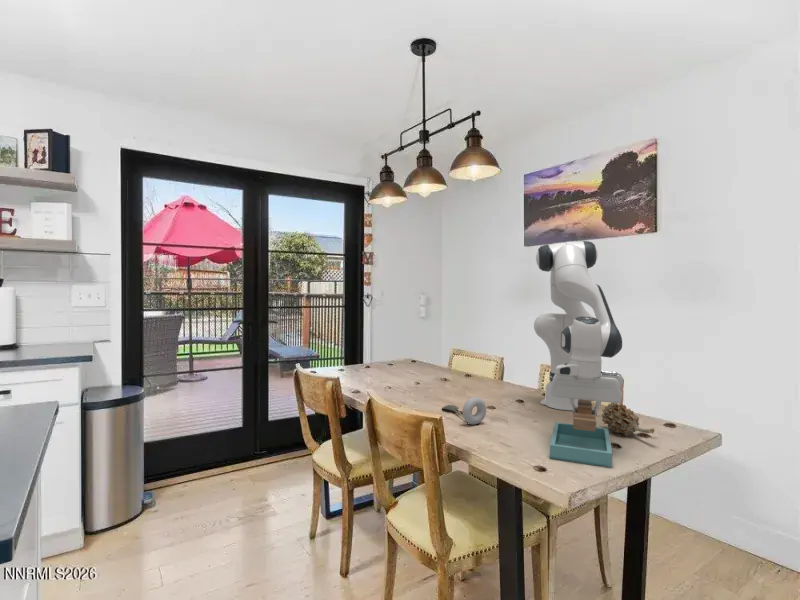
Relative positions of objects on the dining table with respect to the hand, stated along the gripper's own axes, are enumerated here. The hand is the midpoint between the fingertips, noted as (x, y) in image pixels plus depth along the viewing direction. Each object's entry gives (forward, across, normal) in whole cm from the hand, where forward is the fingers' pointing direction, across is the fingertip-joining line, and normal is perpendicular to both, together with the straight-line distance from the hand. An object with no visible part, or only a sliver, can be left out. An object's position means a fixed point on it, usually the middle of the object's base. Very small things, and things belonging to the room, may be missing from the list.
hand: (584, 413), depth 140 cm
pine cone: (+11, -14, -19) cm, 26 cm away
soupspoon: (+11, +46, -18) cm, 50 cm away
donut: (+11, +37, -10) cm, 39 cm away
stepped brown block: (+2, 0, +2) cm, 3 cm away
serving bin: (+11, +1, +1) cm, 11 cm away
